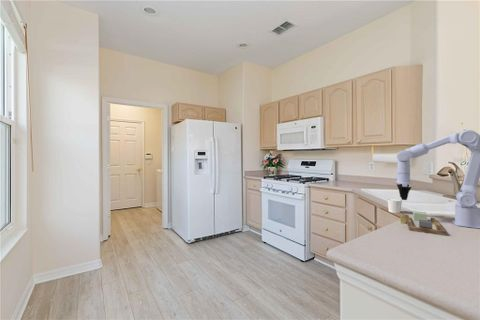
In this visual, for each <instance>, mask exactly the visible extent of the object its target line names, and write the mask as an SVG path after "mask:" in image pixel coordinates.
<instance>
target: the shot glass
mask: <svg viewBox="0 0 480 320" xmlns="http://www.w3.org/2000/svg"><path fill="white" fill-rule="evenodd" d="M402 201H403V200H402V199H396V198H388V199H387V207H388V212H389V213H392V214H401V210H402V204H403V203H402Z"/></svg>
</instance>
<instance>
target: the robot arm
mask: <svg viewBox="0 0 480 320" xmlns="http://www.w3.org/2000/svg"><path fill="white" fill-rule="evenodd" d="M447 144H460V145H462V146H464V147H466V149H468V150H469V152H470V153H471V154H470V156H469V161H468V162H467V163H468V164H467V167H466V171H465V174H464V179H463V182H462V185H461V187H460V189H459V191H457V193H456V194H455V199H456V201H457V202H456V203H455V204H454V207H455V208H454V220H452V221H451V222H452V223H453V224H454V225H455V226H457V227H463V228H465V227H467V228H473V229H480V207H478V205H477V204H478V197H477V194H478V184H479V182H480V134H479V133H477V132H476V131H475V130H472V129H471V130H470V129H468V130H463V131H462V132H460V131H459V132H455V133H452V134H449V135H446V136H444V137H441V138H439V139H436V140H433V141H432V142H428V143H426V144H424V143H416V144H415V145H414V146H411V147H409V148H408V147H406V148H405V149H404V150H400V151H399V152H397V154H396V159H397V165H396V180H394V181H393V183H397V184H396V186H397V188H398V192H399V197H400V198H401V199H400V200H401V201H407V200H408V196H409V193H410V191H411V189H412V187H411V186H410V184H411V183H412V182H411V164H410V163H411V161H410V160H411V159H416V158H419V157H422V156H424V155H427V154H428V153H429V151H430V150H432V149H436V148H438V147H441V146H445V145H447Z"/></svg>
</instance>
